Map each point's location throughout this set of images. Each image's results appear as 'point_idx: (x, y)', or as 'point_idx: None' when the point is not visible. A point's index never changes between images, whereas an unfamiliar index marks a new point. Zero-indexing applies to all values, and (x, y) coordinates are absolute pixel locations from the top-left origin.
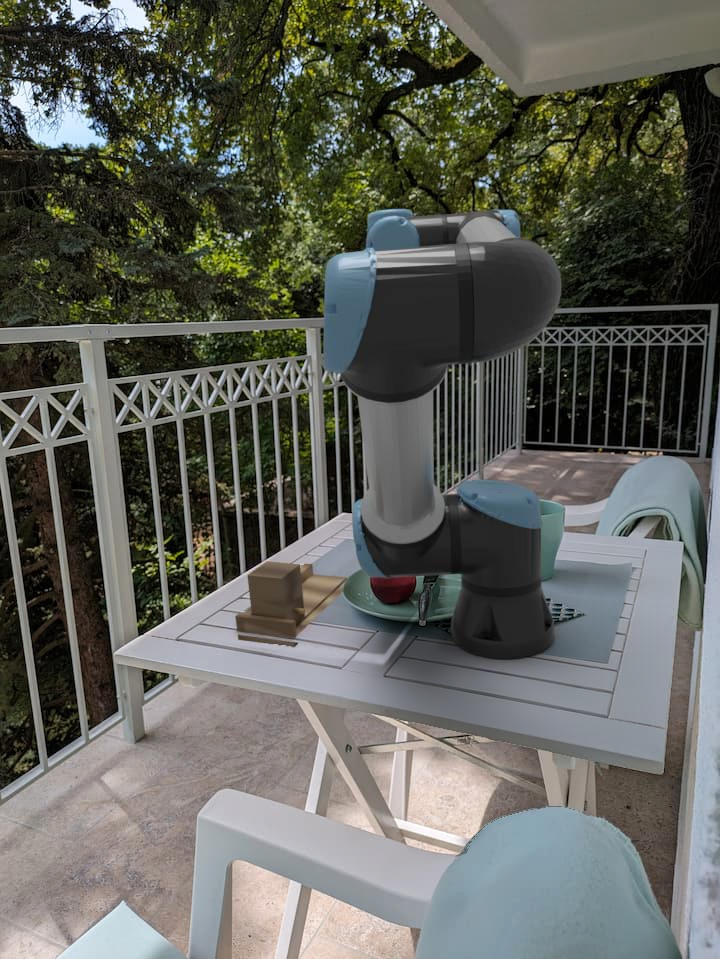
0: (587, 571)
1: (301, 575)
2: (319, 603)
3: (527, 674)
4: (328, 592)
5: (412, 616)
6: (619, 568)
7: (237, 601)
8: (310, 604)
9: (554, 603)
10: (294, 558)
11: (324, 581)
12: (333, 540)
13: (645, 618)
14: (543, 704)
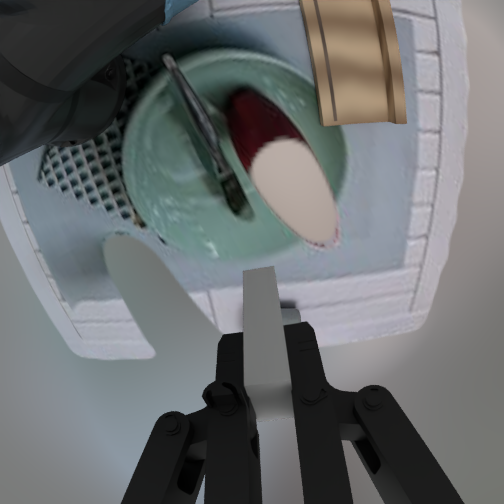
0: (86, 279)
1: (391, 87)
2: (322, 30)
3: None
4: (333, 67)
5: (190, 70)
6: (71, 295)
7: (434, 42)
8: (333, 26)
9: (68, 189)
10: (440, 187)
11: (360, 101)
12: (416, 257)
13: (5, 200)
14: None
